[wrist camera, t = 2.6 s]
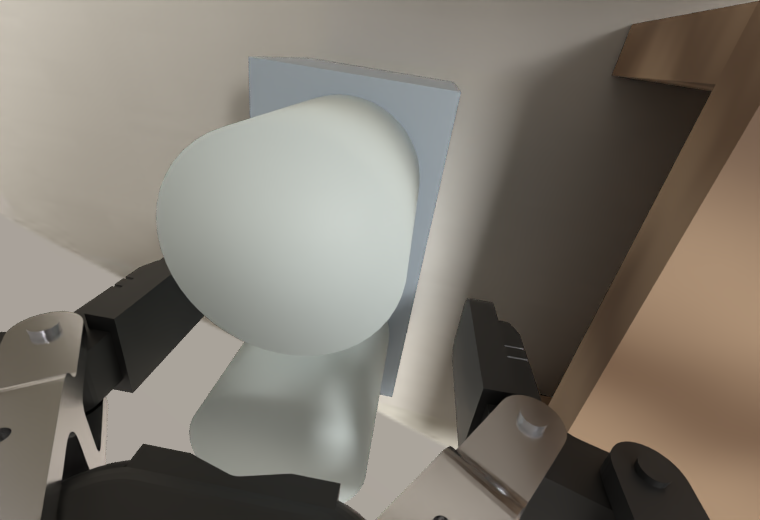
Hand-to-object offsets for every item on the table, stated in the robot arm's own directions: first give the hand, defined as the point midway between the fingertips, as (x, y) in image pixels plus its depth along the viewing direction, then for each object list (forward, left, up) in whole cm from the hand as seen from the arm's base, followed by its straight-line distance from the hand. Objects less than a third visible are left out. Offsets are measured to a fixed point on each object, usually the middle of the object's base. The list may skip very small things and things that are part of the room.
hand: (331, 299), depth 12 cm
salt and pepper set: (-1, 0, -6) cm, 6 cm away
